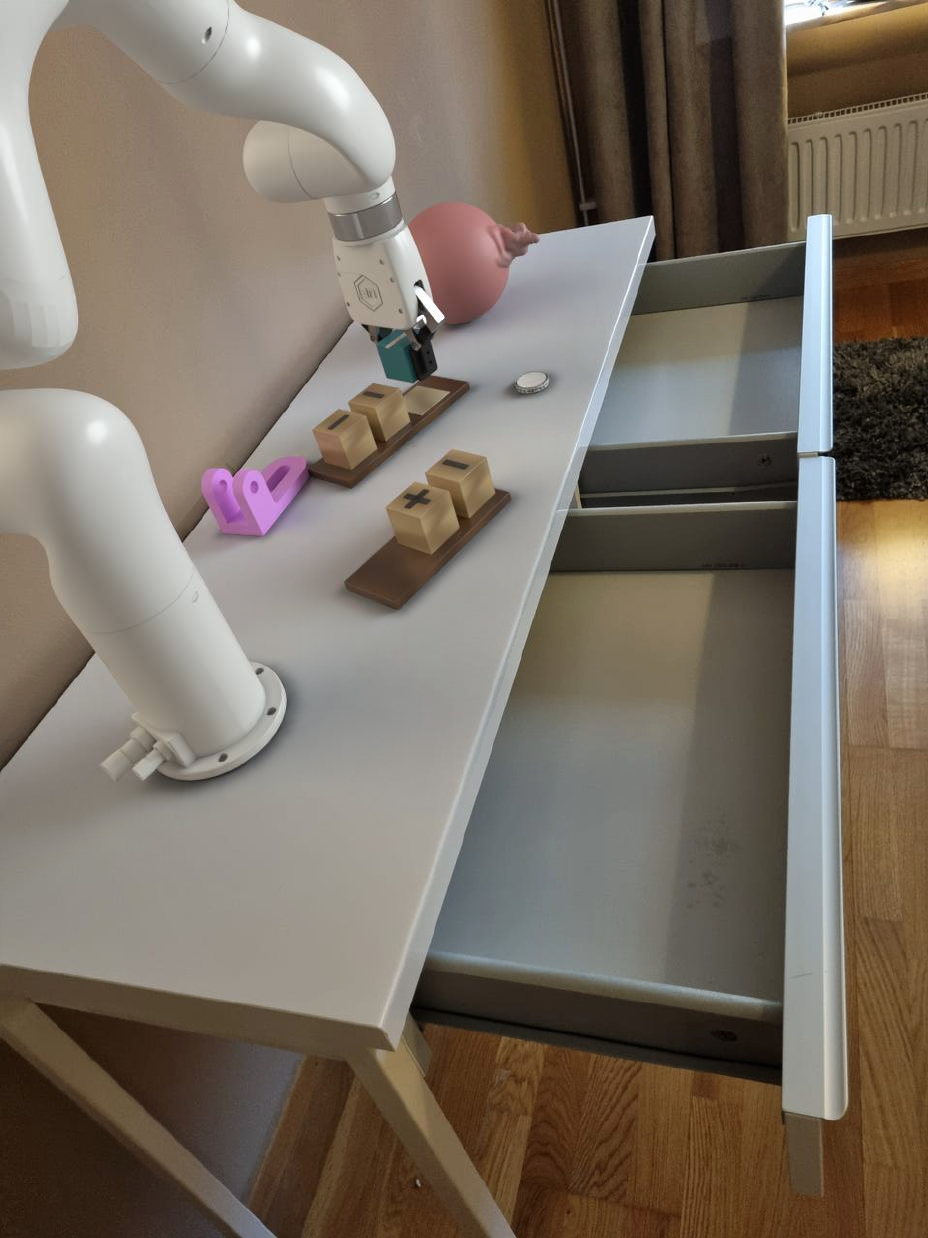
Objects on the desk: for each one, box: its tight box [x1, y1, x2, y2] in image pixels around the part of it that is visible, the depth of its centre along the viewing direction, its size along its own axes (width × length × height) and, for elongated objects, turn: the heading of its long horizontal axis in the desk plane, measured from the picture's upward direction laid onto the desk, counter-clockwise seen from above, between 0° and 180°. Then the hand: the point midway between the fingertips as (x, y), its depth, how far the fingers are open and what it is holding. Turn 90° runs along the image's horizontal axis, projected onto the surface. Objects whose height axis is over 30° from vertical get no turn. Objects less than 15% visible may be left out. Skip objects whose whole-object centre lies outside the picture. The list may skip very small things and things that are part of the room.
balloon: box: [407, 201, 541, 325], centre depth 119 cm, size 15×20×15 cm
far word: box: [308, 374, 471, 489], centre depth 105 cm, size 22×7×6 cm, turn 141°
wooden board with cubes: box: [343, 448, 512, 611], centre depth 86 cm, size 18×7×6 cm, turn 141°
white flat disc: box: [514, 371, 550, 394], centre depth 107 cm, size 4×4×1 cm
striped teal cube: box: [375, 325, 420, 385], centre depth 104 cm, size 5×4×5 cm
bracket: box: [200, 455, 311, 537], centre depth 99 cm, size 13×6×7 cm, turn 158°
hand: (411, 370), depth 106 cm, fingers closed on striped teal cube, 4 cm apart
